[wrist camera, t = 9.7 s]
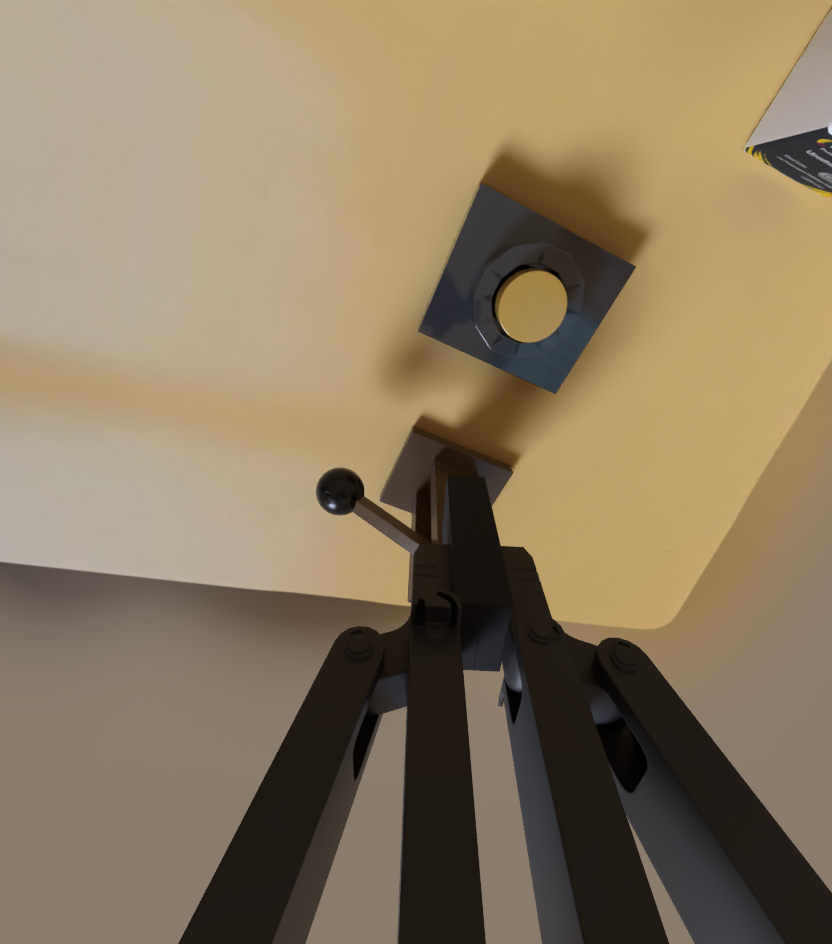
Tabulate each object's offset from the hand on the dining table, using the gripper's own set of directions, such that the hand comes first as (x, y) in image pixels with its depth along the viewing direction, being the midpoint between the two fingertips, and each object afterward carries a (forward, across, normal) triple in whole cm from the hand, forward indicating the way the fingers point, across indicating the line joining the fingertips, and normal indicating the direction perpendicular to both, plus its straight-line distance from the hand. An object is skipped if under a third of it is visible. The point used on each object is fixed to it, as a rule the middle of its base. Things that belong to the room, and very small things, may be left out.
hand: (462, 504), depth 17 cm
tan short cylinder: (+17, +5, +5) cm, 18 cm away
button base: (+20, +5, +6) cm, 22 cm away
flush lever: (+12, -3, -10) cm, 16 cm away
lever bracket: (+20, +1, -11) cm, 23 cm away
